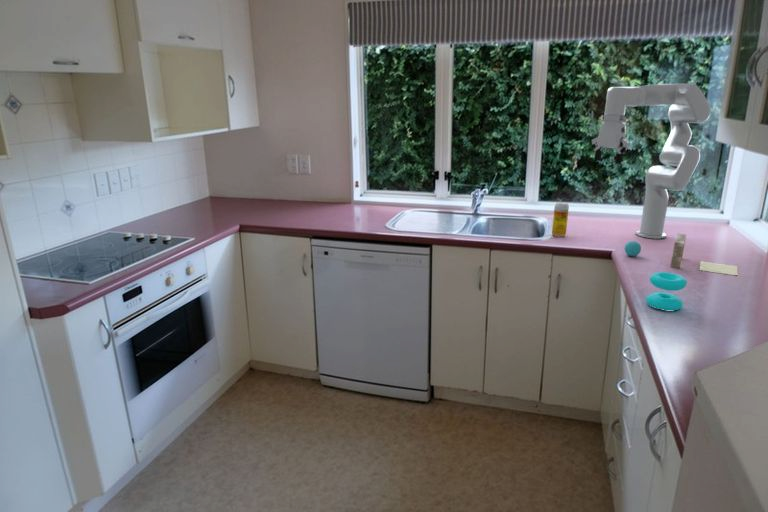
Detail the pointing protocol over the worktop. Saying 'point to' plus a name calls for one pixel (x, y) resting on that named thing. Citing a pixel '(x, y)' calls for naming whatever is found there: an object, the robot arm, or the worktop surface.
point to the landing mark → (718, 268)
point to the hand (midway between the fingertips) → (607, 162)
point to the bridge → (678, 250)
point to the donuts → (666, 283)
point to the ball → (632, 248)
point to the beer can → (560, 219)
